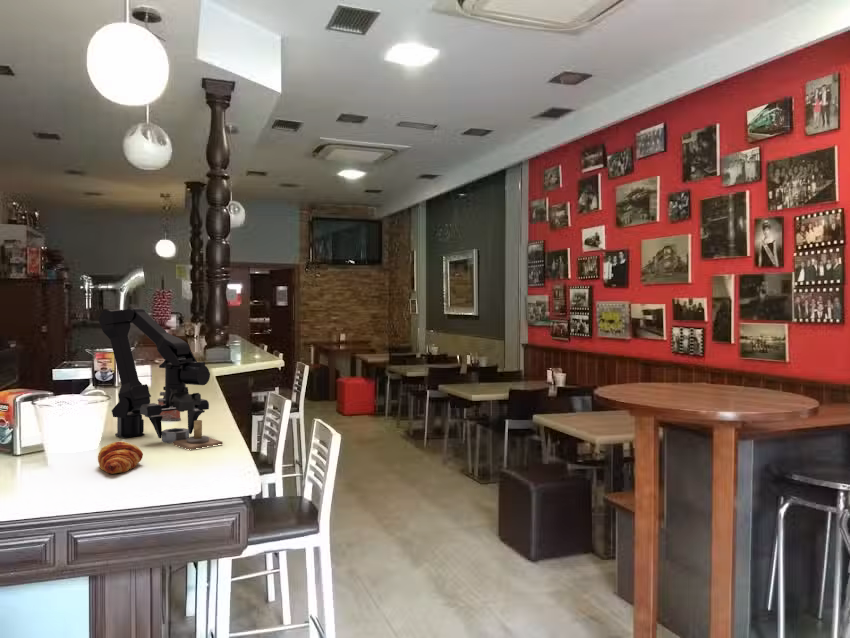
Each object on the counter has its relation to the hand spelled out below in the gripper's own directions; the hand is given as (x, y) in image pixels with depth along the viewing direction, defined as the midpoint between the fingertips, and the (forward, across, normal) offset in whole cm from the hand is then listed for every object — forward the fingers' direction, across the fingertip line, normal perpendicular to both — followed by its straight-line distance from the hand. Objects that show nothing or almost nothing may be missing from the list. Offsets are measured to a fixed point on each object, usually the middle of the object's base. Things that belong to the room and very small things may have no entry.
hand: (175, 435), depth 190 cm
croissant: (+2, -23, -20) cm, 31 cm away
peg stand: (+1, +2, -10) cm, 10 cm away
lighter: (+2, +13, +33) cm, 35 cm away
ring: (+1, 0, 0) cm, 1 cm away
